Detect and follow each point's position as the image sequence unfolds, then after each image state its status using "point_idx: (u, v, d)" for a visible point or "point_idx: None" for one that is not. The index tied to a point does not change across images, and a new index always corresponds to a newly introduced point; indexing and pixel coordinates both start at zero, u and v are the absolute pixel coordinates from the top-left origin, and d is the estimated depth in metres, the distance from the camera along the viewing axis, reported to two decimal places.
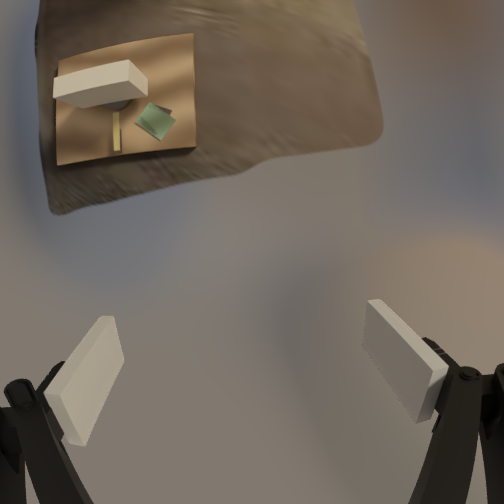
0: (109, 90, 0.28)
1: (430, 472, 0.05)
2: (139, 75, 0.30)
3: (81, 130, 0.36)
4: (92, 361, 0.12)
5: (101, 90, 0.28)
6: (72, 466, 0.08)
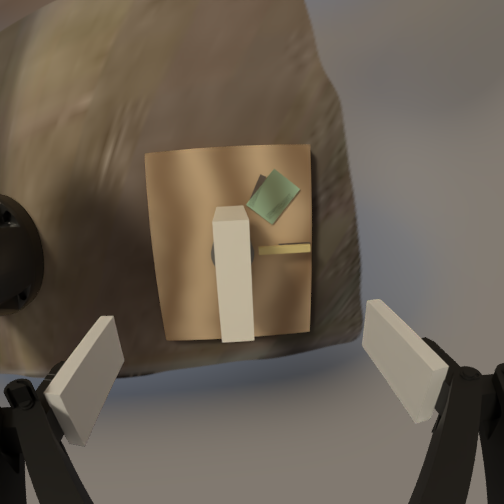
0: None
1: (430, 472, 0.05)
2: (223, 212, 0.25)
3: (271, 299, 0.33)
4: (93, 362, 0.12)
5: None
6: (72, 466, 0.08)
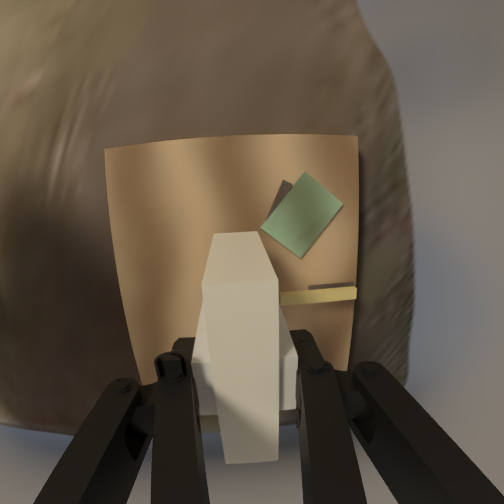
0: None
1: (311, 475, 0.06)
2: (224, 250, 0.14)
3: None
4: None
5: None
6: (201, 445, 0.09)
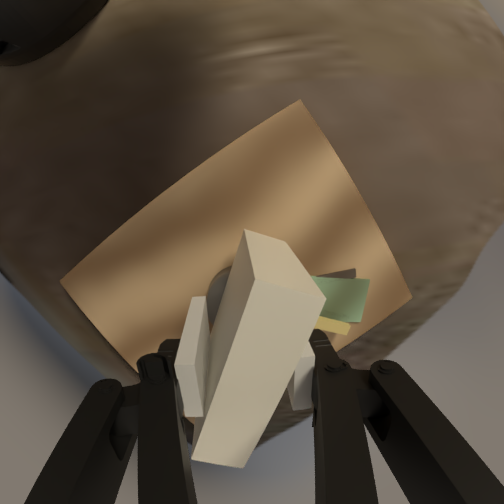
0: None
1: (324, 473, 0.06)
2: (262, 250, 0.14)
3: None
4: (202, 336, 0.14)
5: None
6: (186, 446, 0.09)
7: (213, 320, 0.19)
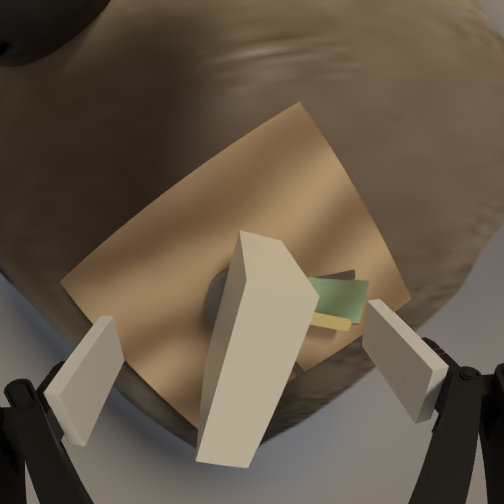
0: None
1: (430, 472, 0.05)
2: (256, 250, 0.14)
3: None
4: (93, 362, 0.12)
5: None
6: (72, 466, 0.08)
7: (213, 322, 0.19)
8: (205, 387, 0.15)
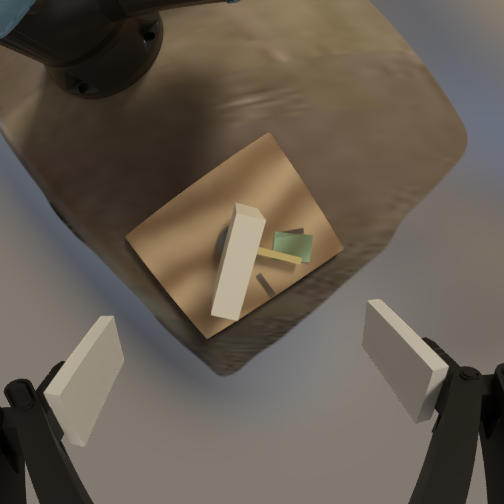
0: None
1: (430, 472, 0.05)
2: (242, 208, 0.29)
3: None
4: (93, 362, 0.12)
5: None
6: (72, 466, 0.08)
7: (220, 255, 0.34)
8: (216, 283, 0.30)
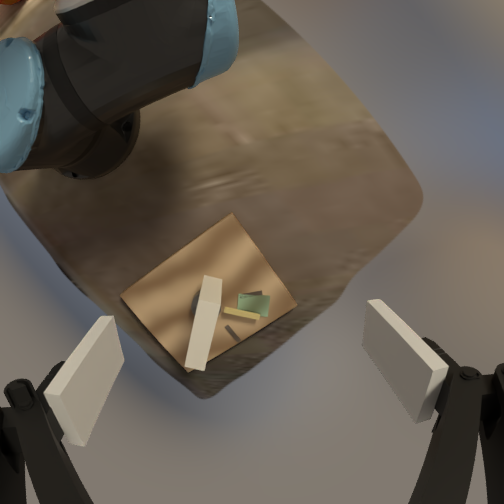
0: None
1: (430, 472, 0.05)
2: (207, 286, 0.37)
3: None
4: (93, 362, 0.12)
5: None
6: (72, 466, 0.08)
7: (194, 313, 0.42)
8: None
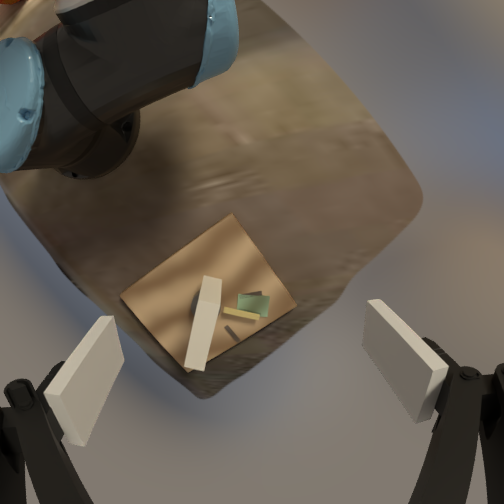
0: None
1: (430, 472, 0.05)
2: (206, 287, 0.37)
3: None
4: (93, 362, 0.12)
5: None
6: (72, 466, 0.08)
7: (194, 314, 0.42)
8: None
